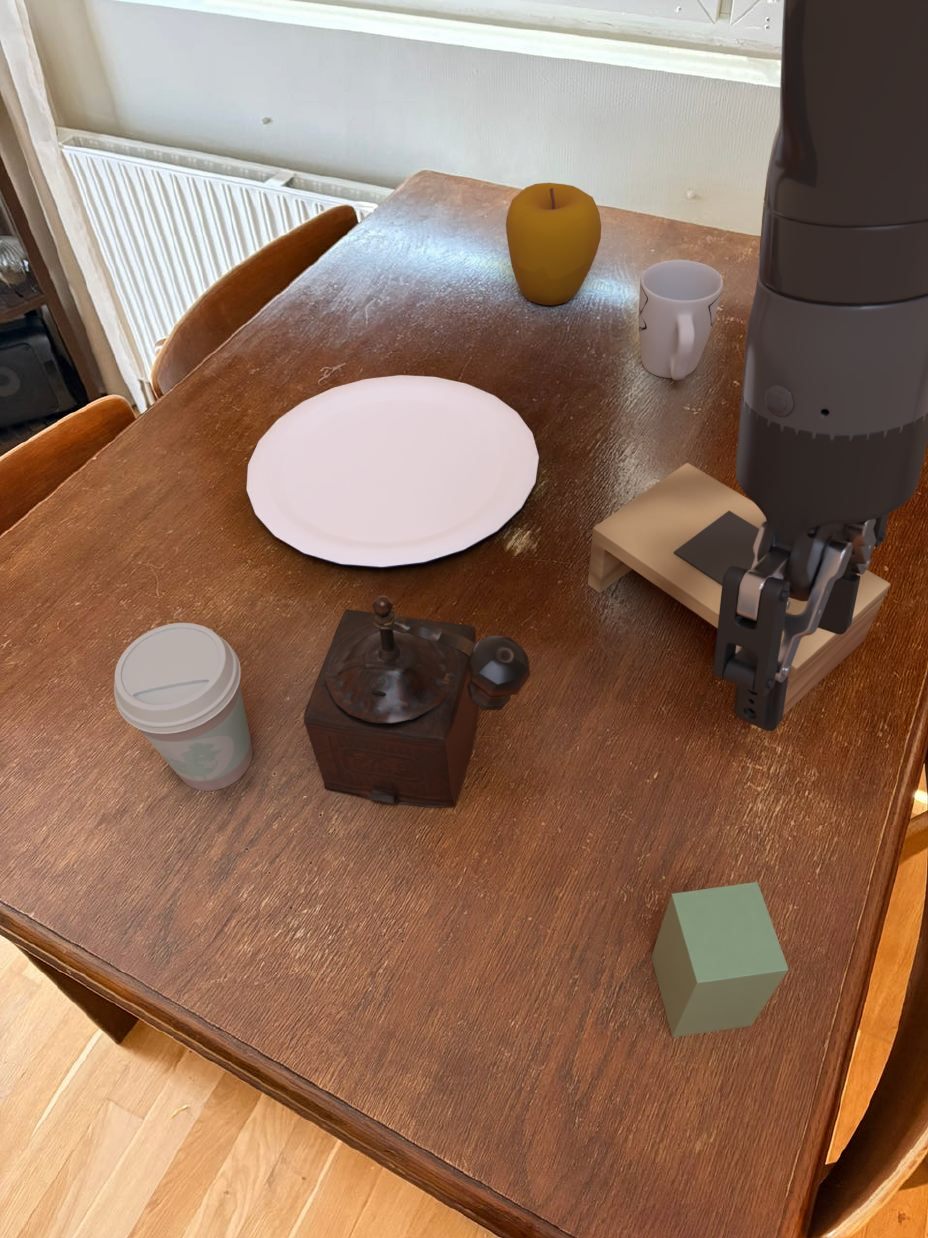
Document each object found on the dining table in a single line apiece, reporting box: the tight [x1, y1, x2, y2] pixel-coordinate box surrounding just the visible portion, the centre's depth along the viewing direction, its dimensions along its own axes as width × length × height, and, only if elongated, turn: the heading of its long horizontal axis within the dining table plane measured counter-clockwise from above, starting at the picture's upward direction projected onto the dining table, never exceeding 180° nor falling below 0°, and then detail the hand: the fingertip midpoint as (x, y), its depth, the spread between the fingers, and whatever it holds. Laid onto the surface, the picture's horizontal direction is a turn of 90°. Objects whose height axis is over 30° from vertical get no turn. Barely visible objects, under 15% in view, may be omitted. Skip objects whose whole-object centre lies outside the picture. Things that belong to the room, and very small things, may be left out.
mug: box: [638, 259, 724, 381], centre depth 96 cm, size 11×8×10 cm
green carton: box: [650, 881, 790, 1038], centre depth 53 cm, size 5×5×10 cm
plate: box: [246, 374, 540, 569], centre depth 90 cm, size 29×29×2 cm
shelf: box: [587, 462, 891, 716], centre depth 74 cm, size 20×12×7 cm, turn 41°
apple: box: [505, 182, 602, 306], centre depth 106 cm, size 11×11×13 cm
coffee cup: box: [113, 622, 254, 792], centre depth 65 cm, size 8×9×12 cm
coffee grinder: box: [303, 595, 531, 808], centre depth 62 cm, size 16×11×18 cm
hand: (794, 671), depth 47 cm, fingers open, 8 cm apart
